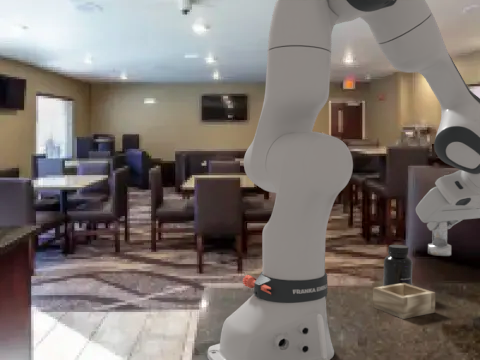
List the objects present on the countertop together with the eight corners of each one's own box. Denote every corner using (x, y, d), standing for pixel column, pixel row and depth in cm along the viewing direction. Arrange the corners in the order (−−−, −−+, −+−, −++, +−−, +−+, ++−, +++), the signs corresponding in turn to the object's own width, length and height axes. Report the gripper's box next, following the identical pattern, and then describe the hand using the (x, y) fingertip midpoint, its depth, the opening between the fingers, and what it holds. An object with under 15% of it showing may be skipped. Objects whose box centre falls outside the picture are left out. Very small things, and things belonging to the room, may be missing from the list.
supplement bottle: (407, 299, 125) (408, 249, 124) (379, 294, 129) (380, 247, 128) (415, 292, 131) (415, 245, 130) (388, 288, 134) (388, 242, 134)
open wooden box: (402, 318, 110) (403, 298, 110) (372, 307, 119) (373, 287, 118) (434, 312, 114) (435, 292, 114) (403, 301, 123) (403, 282, 123)
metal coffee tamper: (440, 256, 116) (441, 207, 115) (423, 252, 120) (424, 205, 120) (456, 254, 118) (457, 206, 118) (438, 250, 123) (439, 204, 122)
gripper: (498, 175, 117) (461, 214, 126) (432, 178, 108) (397, 219, 117) (516, 197, 113) (476, 235, 122) (449, 201, 104) (412, 242, 113)
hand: (437, 227), depth 120 cm, fingers closed on metal coffee tamper, 3 cm apart
